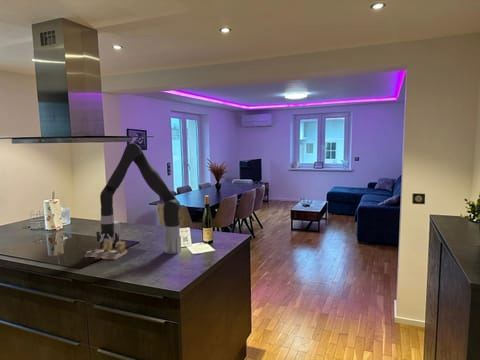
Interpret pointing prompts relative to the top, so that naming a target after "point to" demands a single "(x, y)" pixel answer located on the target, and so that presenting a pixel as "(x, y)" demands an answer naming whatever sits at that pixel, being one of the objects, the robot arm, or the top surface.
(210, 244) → the top surface
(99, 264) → the top surface
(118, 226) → the skincare box
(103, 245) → the slider leg
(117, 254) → the gauge board
